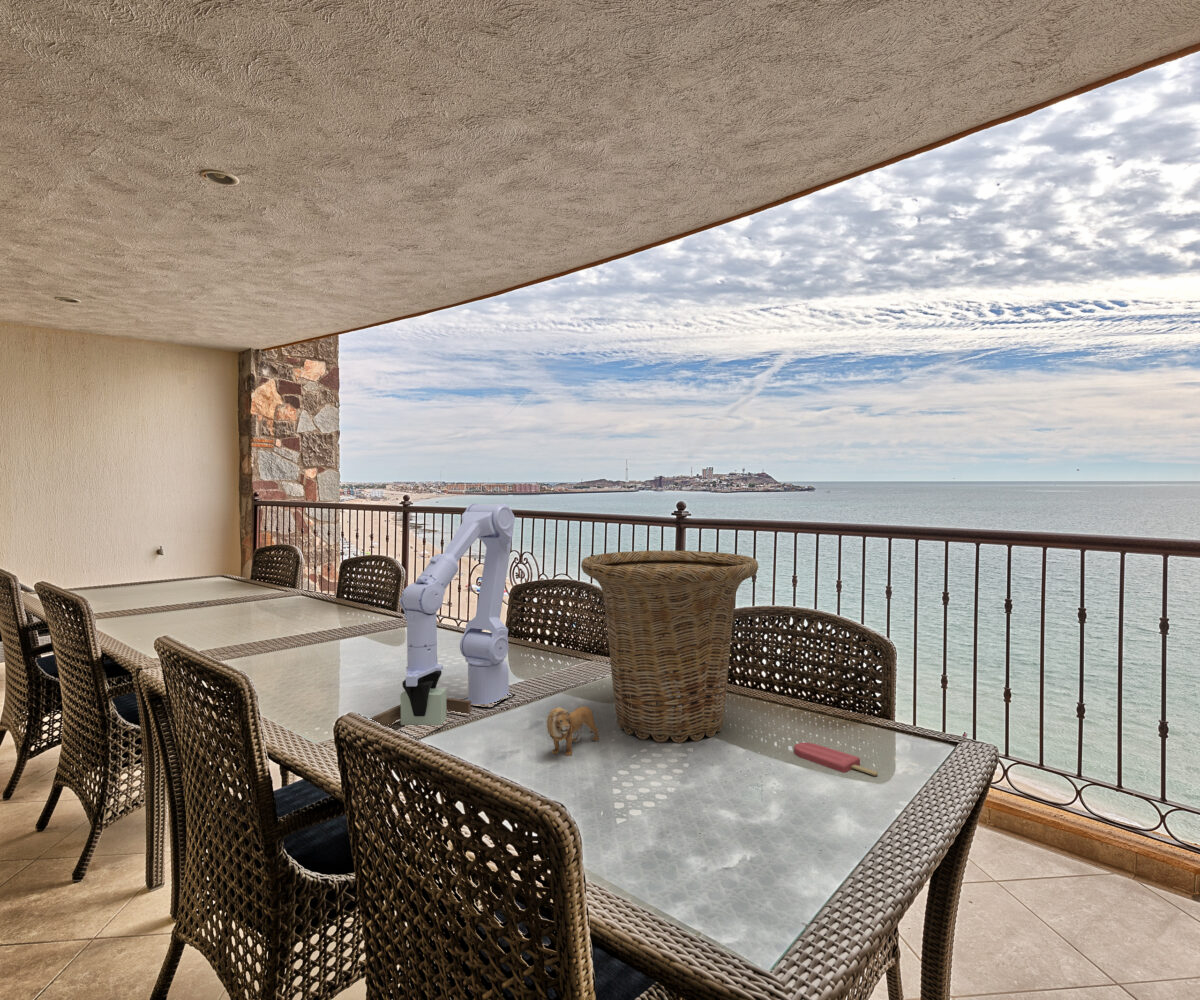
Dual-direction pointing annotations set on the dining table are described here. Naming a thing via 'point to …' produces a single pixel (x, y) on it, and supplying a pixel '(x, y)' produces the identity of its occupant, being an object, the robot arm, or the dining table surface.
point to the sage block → (434, 711)
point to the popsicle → (830, 758)
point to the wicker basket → (669, 637)
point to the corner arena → (395, 712)
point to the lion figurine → (569, 726)
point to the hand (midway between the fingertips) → (422, 711)
